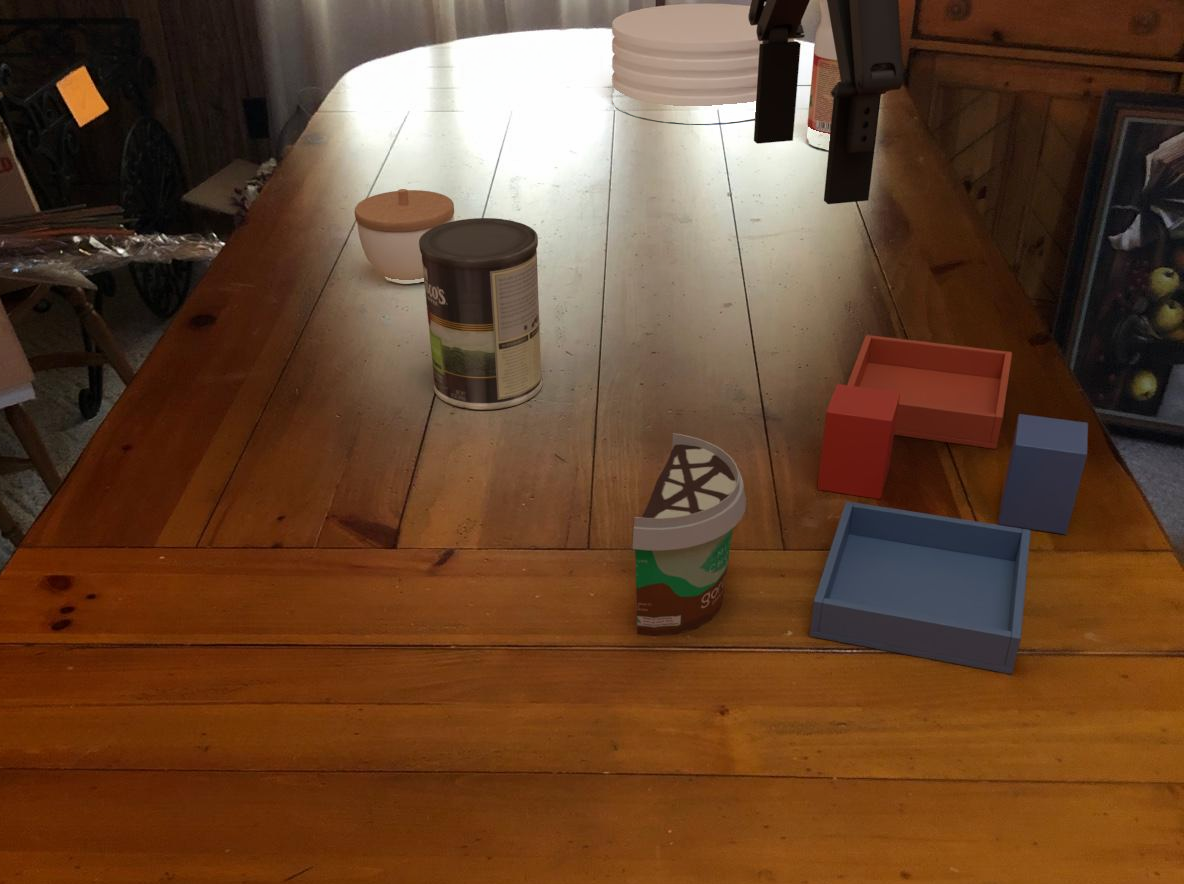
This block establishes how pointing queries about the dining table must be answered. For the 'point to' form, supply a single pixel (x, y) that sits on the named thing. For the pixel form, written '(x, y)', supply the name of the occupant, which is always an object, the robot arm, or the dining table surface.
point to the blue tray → (924, 586)
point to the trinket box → (400, 229)
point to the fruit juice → (823, 75)
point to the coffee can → (483, 312)
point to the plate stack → (686, 55)
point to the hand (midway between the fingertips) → (807, 169)
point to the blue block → (1043, 473)
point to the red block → (858, 441)
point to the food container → (686, 538)
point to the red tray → (938, 388)
